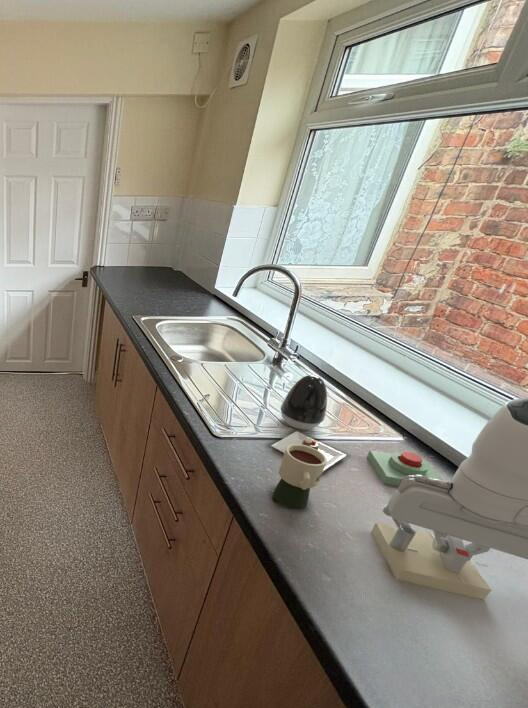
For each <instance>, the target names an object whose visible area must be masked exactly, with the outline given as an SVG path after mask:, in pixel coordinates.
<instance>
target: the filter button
mask: <svg viewBox="0 0 528 708" xmlns="http://www.w3.org/2000/svg"><path fill="white" fill-rule="evenodd" d="M401 453H402V454H401V456H400V458H399V461H401V462H402V463H404V464H406V465H408V466H411V467H419V466H420V464H421V462H422V459H423V458H422V457H421V456H420V455H419V454H417V453H414V452H411V451H403V452H401Z"/></svg>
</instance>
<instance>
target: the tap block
mask: <svg viewBox="0 0 528 708" xmlns="http://www.w3.org/2000/svg"><path fill="white" fill-rule="evenodd" d="M397 530H398V527H397V526H396V525H392V524H386V523H382V522H375V523H374V525H373V527H372V529H371V533H372V535H373V538H374V540H375V541H376V543H377V545H378V547H379V549H380V551H381V553H382V555H383V557H384V559H385V560H386V562H387V564H388V566H389V568H390V570H391V572H392V574H393V576H394V578H395V579H396V580H399V581H402V582H407V583H412V584H415V585H420V586H423V587H428V588H432V589H437V590H441V591H445V592H449V593H454V594H458V595H462V596H467V597H471V598H474V599H475V598H476V599H479V600H486V598H487V597H488V595H489V594H490V593H491V592H492V589H491V587H490V586H489V585H488V583H487V582H486V580H485V579H484V578H483V576H482V575H481V573H480V572H479V570H478V569H477V568H476V567H475V565H474V564H473V563H472V561H471V560H470V561H467V562H466V563H465V565H464V566H463V568H462V569H461V571H460V572H459V573H458V574H457V573H454V572H451V571H448V570H446V568H445V565H444V563H443V560H442V557H441V554H440V552H439V551H436V550H434V549H433V547H432V542H433V541H434V539H435V535H434V533H433V531H428V532H426V531H421V530H415V529H414V530H415V531H416V534H415V535H414V537H413V539H412V541H411V542H410V544H409V546H408V547H407V549H406V551H398V550H396V549H394V548H393V547H392V546H391V544H390V542H391V541H392V539H393V537H394V535H395V533H396V532H397ZM476 565H479V566H484V567H489V565H488V564H487V563H483V562H478V561H476Z"/></svg>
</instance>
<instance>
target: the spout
mask: <svg viewBox="0 0 528 708" xmlns="http://www.w3.org/2000/svg"><path fill="white" fill-rule="evenodd" d="M382 512H383V514H385V515H386V516H387V517H389V518H391V519H392V521H393V522H394V525H395V526H397V527H398V530H397V532H396V533H395V535H394V537H393V539H392V541H391V542H390V544H391V546H392V547H393V548H394V549H396V550H398V551H406V549H407V547H408V546H409V544H410V542H411V541H412V539H413V537H414V535H415V534H416V531H417V530H416V531H415V529H414V528H413V527H412V526H411V524H410V523H407V522H404V521H400V520H397V519H395V518H393V516H392V515H391V513H390V511H389V508H388V504H386V505H384V507H383V509H382Z"/></svg>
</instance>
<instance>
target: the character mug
mask: <svg viewBox="0 0 528 708" xmlns="http://www.w3.org/2000/svg"><path fill="white" fill-rule="evenodd" d="M326 462H327V458H326V457H325V455H324V454H322V453H321V452H320V451H318V450H316V449H314V448H312V447H309V446H306V445H301V444H293V445H289V446H288V447H287V448H286V450H285V453H283V456H282V459H281V462H280V465H279V469H278V475H279V477H280V480H279V481H278V483H277V485H276V486H275V488H274V490H273V492H272V499H273V500H275V501H276V502H277V504H280V505H283V506H284V507H287V508H290V509H293V510H302V509H306V508H307V506H308V501H309V497H310V492H311V491H310V490H311V489H312V488H315V487H317V486H318V485H319V484H320V480H321V477H322V474H323V473H324V471H325V470H324V468H325V465H326Z"/></svg>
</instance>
